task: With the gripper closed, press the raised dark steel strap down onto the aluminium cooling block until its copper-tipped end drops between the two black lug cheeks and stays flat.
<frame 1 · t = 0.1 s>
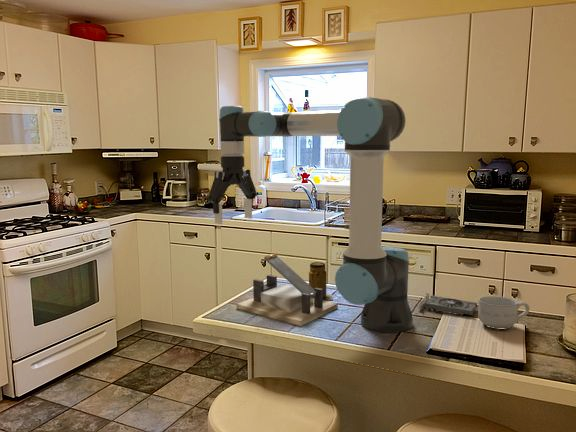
hand: (233, 220, 167), 28 cm above the table, tool pointing down, fingers open, 13 cm apart
condiment: (320, 297, 177), on the table
graphics card: (446, 312, 163), on the table
retention strap: (291, 275, 163), point 11 cm above the table, hinge at -30.0°
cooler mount: (287, 308, 165), on the table
teacup: (502, 327, 148), on the table
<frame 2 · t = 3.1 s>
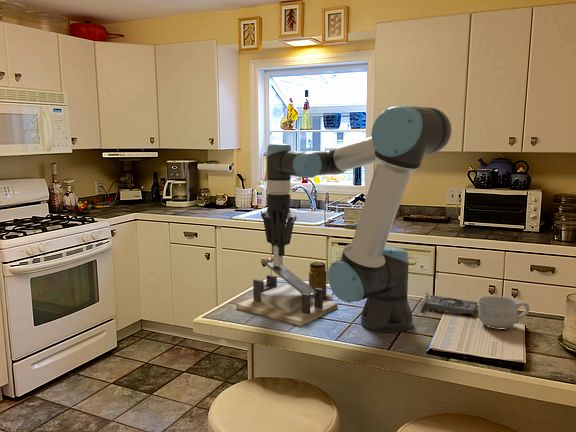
hand: (278, 265, 166), 14 cm above the table, tool pointing down, fingers closed
retention strap: (290, 277, 163), point 11 cm above the table, hinge at -25.7°, touching gripper
everything else where it was.
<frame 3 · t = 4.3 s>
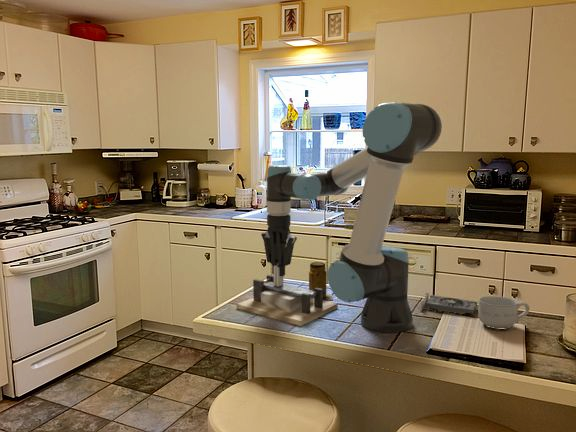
hand: (278, 284, 167), 7 cm above the table, tool pointing down, fingers closed, pressing on retention strap
retention strap: (287, 288, 164), point 7 cm above the table, hinge at -1.4°, touching gripper
everything else where it was.
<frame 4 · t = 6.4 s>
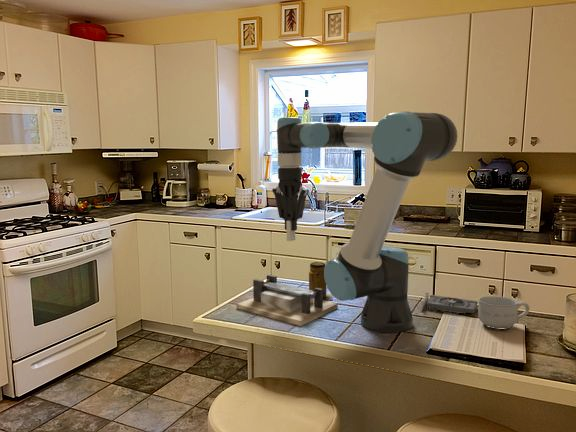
hand: (291, 240, 165), 22 cm above the table, tool pointing down, fingers closed
retention strap: (287, 288, 164), point 7 cm above the table, hinge at -0.9°
everything else where it was.
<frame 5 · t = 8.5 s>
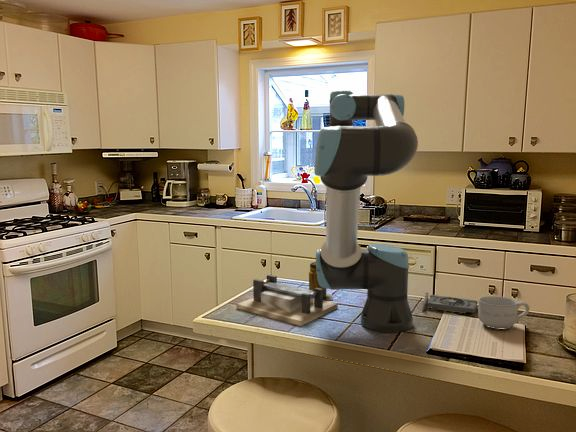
hand: (340, 210, 171), 30 cm above the table, tool pointing down, fingers closed
at the end: retention strap at -1° (first picture: -30°); the gripper is holding nothing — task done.
